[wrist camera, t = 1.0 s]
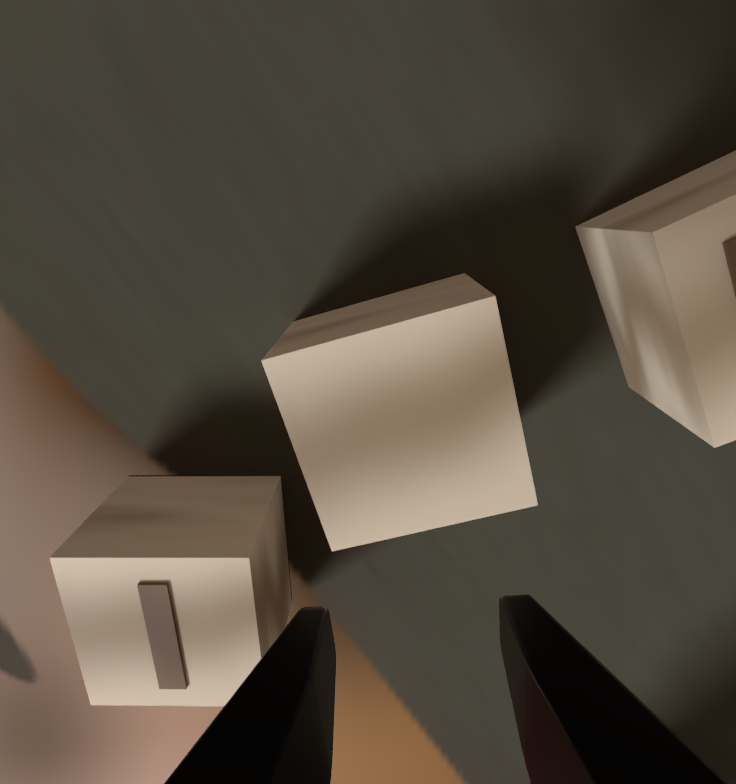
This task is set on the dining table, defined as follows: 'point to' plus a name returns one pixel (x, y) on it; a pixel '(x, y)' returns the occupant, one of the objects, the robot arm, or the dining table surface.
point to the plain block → (403, 412)
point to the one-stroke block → (176, 588)
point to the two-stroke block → (674, 295)
